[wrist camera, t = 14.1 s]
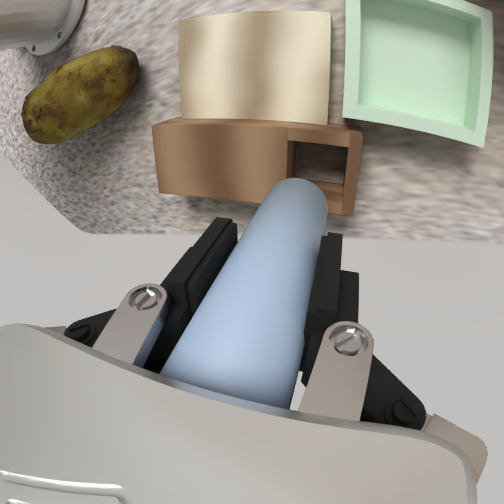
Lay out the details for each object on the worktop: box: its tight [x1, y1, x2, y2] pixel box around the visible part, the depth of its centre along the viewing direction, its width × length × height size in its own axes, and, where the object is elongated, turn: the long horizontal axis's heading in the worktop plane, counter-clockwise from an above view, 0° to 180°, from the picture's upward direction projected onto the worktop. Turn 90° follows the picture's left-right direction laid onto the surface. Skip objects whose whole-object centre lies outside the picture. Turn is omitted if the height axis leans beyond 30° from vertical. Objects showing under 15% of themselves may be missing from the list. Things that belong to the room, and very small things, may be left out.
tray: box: [342, 0, 493, 148], centre depth 16 cm, size 11×11×3 cm
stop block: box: [152, 117, 363, 216], centre depth 23 cm, size 16×6×4 cm, turn 90°
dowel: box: [159, 178, 328, 410], centre depth 10 cm, size 3×3×12 cm
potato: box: [21, 45, 139, 144], centre depth 22 cm, size 8×13×8 cm, turn 92°
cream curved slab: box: [178, 11, 332, 125], centre depth 21 cm, size 12×9×2 cm
